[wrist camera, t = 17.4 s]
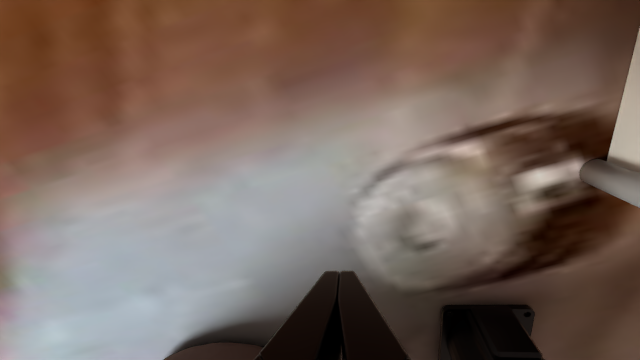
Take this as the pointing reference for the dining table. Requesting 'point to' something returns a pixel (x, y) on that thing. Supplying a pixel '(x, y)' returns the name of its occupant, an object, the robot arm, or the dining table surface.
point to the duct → (622, 145)
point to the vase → (218, 352)
